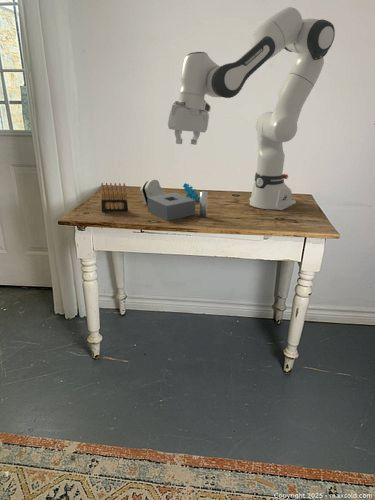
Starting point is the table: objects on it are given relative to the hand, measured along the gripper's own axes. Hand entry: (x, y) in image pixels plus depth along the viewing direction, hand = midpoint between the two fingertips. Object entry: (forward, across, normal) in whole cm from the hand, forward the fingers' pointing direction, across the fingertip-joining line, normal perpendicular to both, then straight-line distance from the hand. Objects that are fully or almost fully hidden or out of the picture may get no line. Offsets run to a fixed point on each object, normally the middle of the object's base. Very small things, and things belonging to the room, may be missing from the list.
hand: (186, 144), depth 126 cm
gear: (+26, +25, +11) cm, 38 cm away
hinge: (+28, +14, +25) cm, 40 cm away
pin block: (+28, +4, +7) cm, 30 cm away
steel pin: (+27, +9, -6) cm, 29 cm away
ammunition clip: (+31, -8, +26) cm, 41 cm away
